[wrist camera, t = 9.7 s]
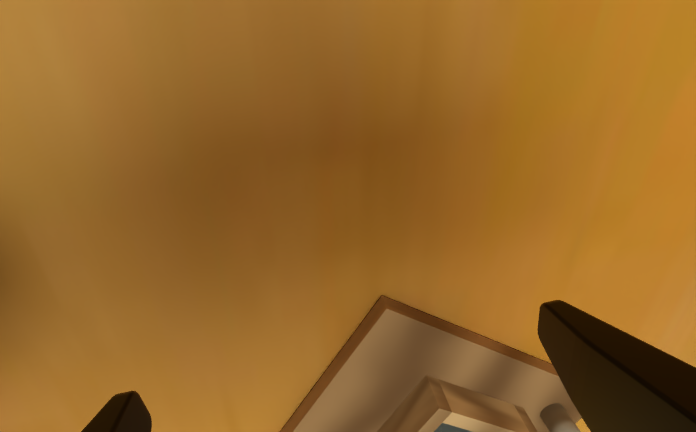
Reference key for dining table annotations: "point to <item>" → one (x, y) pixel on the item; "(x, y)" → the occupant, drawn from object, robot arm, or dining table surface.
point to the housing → (432, 381)
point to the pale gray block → (449, 428)
